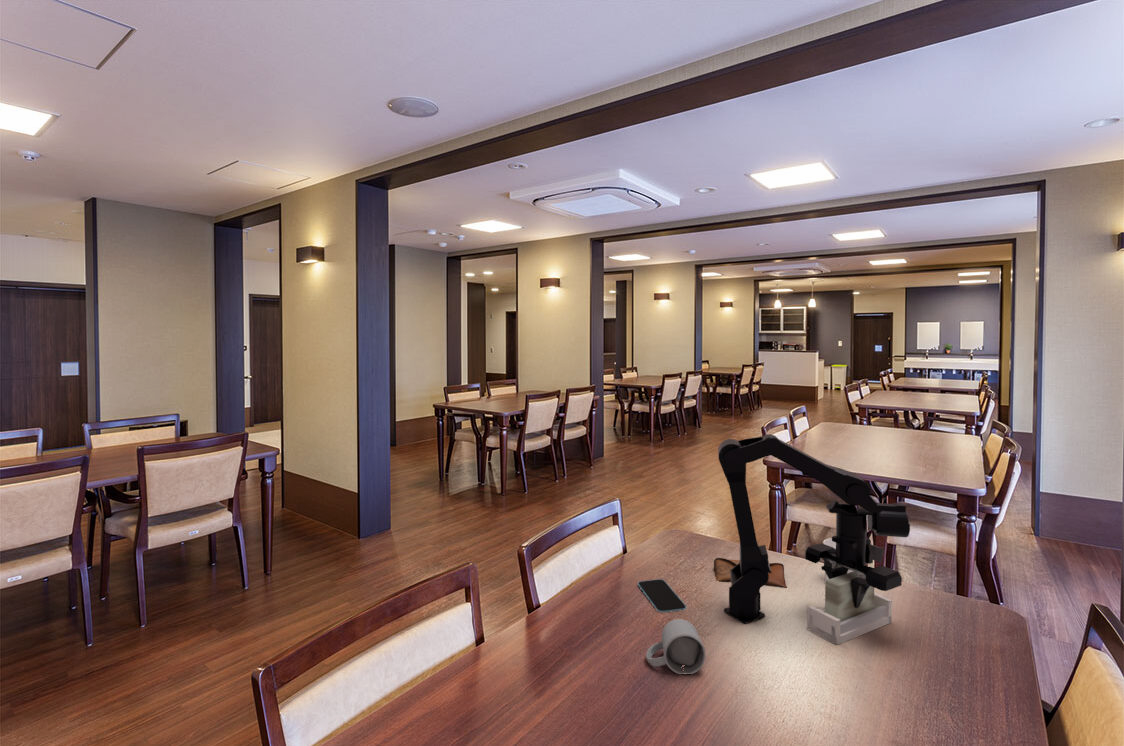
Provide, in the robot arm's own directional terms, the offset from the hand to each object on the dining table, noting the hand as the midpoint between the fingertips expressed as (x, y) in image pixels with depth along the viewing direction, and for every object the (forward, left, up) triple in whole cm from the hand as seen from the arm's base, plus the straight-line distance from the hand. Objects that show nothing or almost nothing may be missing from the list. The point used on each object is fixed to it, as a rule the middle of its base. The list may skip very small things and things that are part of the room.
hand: (849, 604), depth 117 cm
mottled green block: (0, 0, -2) cm, 2 cm away
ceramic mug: (-41, +7, -5) cm, 42 cm away
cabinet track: (0, 0, -5) cm, 5 cm away
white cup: (+17, +14, -5) cm, 23 cm away
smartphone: (-27, +30, -5) cm, 41 cm away
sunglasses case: (-1, +27, -6) cm, 28 cm away
